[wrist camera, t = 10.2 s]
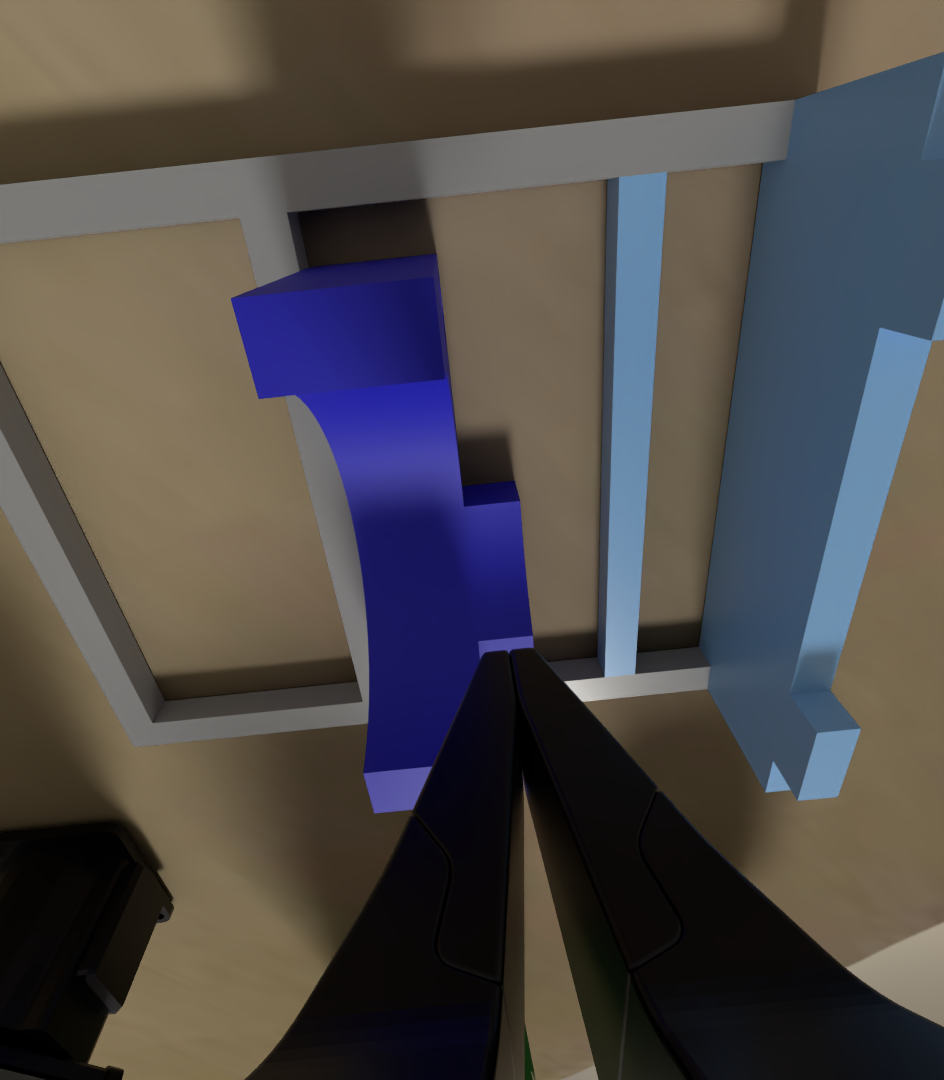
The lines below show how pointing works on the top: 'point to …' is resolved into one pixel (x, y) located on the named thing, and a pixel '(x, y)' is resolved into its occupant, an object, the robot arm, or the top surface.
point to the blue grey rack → (628, 376)
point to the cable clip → (398, 494)
